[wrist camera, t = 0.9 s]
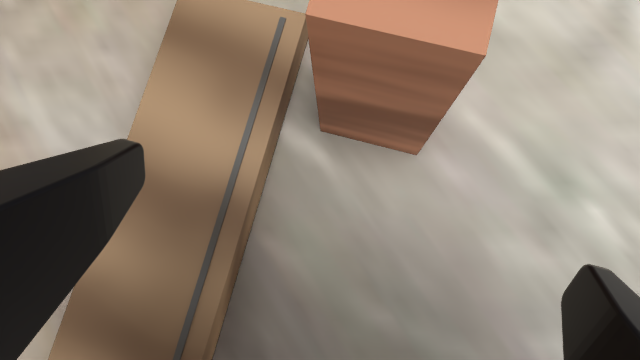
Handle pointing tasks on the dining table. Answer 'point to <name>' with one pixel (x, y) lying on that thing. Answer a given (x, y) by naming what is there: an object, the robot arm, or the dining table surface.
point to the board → (190, 185)
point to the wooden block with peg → (393, 64)
